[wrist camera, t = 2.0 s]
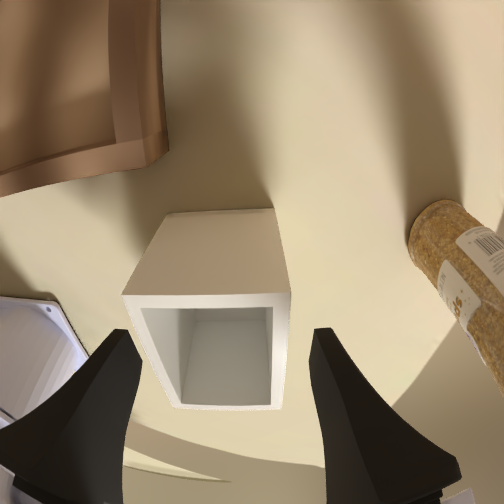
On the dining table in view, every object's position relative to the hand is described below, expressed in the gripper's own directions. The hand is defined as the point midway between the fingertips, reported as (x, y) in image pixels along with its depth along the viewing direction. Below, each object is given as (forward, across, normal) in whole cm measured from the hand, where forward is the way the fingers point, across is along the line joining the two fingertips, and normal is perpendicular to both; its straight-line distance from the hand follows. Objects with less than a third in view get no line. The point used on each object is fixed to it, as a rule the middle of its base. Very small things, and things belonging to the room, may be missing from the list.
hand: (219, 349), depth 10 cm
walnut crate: (+5, +8, -13) cm, 16 cm away
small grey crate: (+5, 0, 0) cm, 5 cm away
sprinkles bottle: (+5, -12, -2) cm, 13 cm away
